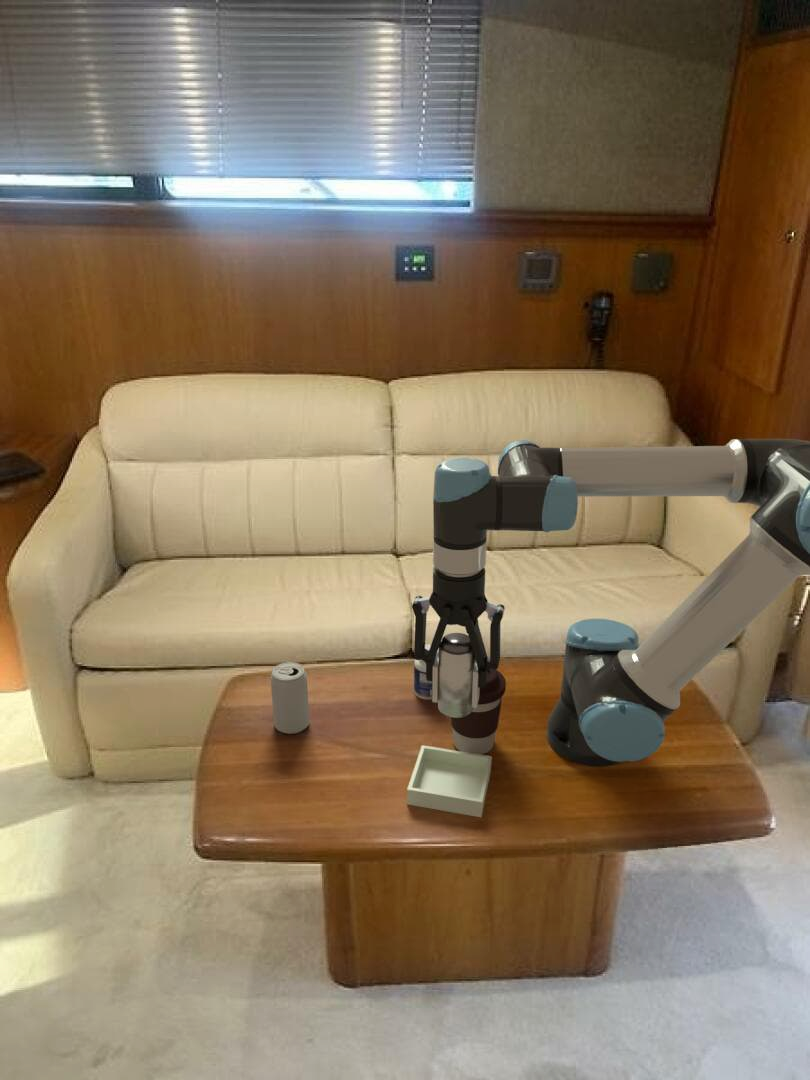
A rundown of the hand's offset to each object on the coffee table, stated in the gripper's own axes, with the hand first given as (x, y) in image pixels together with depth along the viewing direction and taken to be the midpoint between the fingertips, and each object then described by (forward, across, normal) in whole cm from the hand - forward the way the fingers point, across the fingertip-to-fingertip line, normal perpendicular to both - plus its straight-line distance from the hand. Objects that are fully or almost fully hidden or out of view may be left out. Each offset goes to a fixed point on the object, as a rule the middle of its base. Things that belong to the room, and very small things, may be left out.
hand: (455, 699), depth 122 cm
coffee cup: (+18, -1, -12) cm, 21 cm away
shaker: (+1, 0, 0) cm, 1 cm away
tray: (+18, +1, 0) cm, 18 cm away
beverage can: (+17, +32, -9) cm, 37 cm away
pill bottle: (+18, +10, -25) cm, 32 cm away
